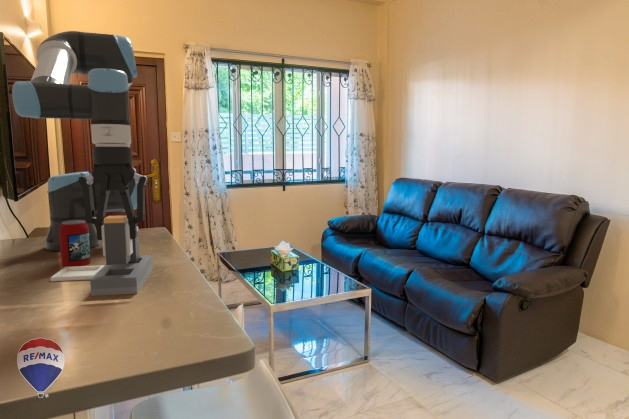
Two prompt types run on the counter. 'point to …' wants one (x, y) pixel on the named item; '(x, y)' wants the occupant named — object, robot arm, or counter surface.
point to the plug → (115, 240)
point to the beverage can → (74, 243)
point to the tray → (76, 273)
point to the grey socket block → (121, 277)
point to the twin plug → (135, 250)
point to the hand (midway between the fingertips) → (118, 254)
